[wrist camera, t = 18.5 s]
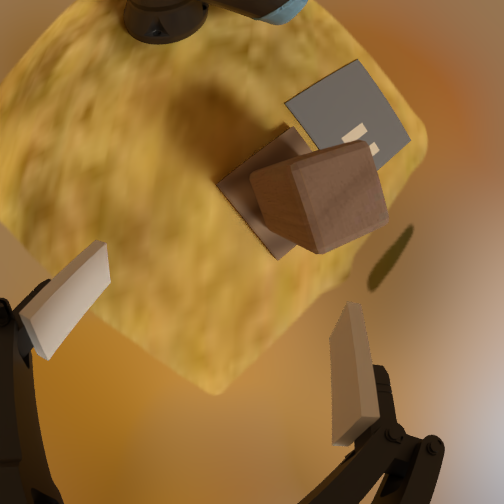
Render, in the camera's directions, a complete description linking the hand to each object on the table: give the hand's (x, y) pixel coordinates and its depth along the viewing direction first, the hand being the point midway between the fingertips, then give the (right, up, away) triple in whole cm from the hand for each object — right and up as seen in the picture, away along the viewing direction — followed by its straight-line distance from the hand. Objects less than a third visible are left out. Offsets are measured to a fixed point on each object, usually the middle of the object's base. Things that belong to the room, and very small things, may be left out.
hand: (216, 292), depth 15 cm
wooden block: (+7, +12, +33) cm, 35 cm away
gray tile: (+21, +26, +34) cm, 48 cm away
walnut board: (+7, +12, +34) cm, 37 cm away
